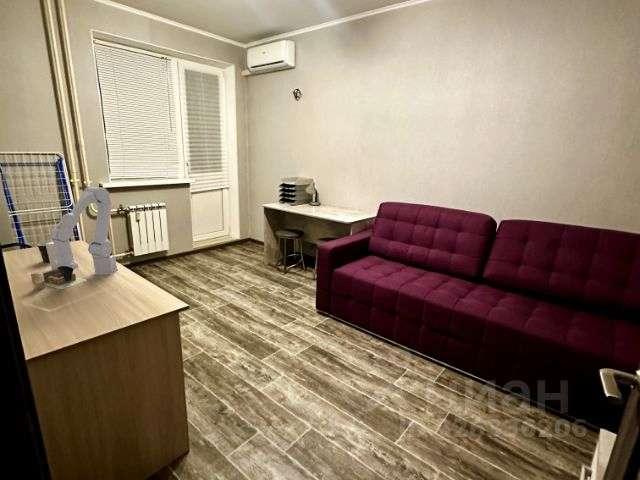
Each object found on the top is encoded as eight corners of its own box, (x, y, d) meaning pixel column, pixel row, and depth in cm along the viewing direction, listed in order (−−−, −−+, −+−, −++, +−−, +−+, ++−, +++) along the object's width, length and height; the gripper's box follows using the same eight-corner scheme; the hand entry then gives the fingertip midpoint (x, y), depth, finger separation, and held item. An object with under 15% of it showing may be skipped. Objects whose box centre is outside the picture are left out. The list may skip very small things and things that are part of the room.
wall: (67, 276, 167) (65, 266, 166) (45, 283, 158) (43, 273, 157) (65, 275, 168) (63, 266, 166) (43, 282, 159) (41, 272, 157)
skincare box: (76, 268, 178) (71, 240, 174) (65, 273, 172) (60, 244, 168) (61, 267, 179) (56, 239, 175) (50, 272, 173) (44, 243, 168)
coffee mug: (43, 258, 191) (39, 242, 188) (61, 257, 194) (58, 240, 192) (36, 265, 181) (33, 247, 178) (56, 263, 184) (53, 246, 182)
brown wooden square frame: (76, 279, 163) (75, 273, 162) (58, 285, 156) (57, 279, 155) (65, 276, 166) (64, 271, 165) (47, 282, 159) (46, 276, 158)
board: (87, 281, 163) (87, 280, 163) (61, 290, 153) (61, 289, 153) (67, 276, 169) (67, 274, 169) (40, 284, 158) (40, 283, 158)
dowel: (47, 287, 155) (44, 271, 153) (41, 291, 151) (38, 274, 149) (38, 287, 155) (34, 271, 152) (32, 291, 151) (28, 275, 149)
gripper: (43, 253, 154) (49, 280, 158) (64, 258, 149) (69, 286, 153) (60, 249, 161) (65, 275, 164) (80, 253, 156) (85, 280, 159)
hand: (68, 280), depth 159 cm, fingers closed
